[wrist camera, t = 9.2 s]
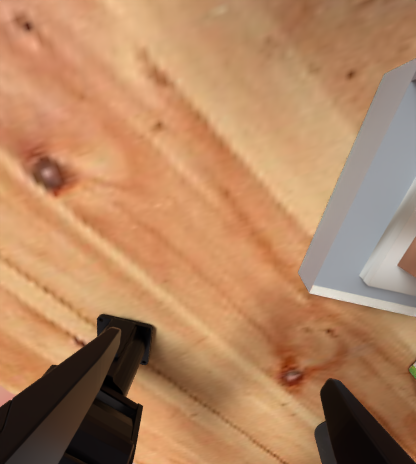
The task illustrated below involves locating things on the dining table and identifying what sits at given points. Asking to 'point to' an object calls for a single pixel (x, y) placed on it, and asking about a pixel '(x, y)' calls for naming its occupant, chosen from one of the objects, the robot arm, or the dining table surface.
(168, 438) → the dining table surface
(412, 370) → the syrup box
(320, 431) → the travel mug
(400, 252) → the pallet
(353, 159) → the dock
